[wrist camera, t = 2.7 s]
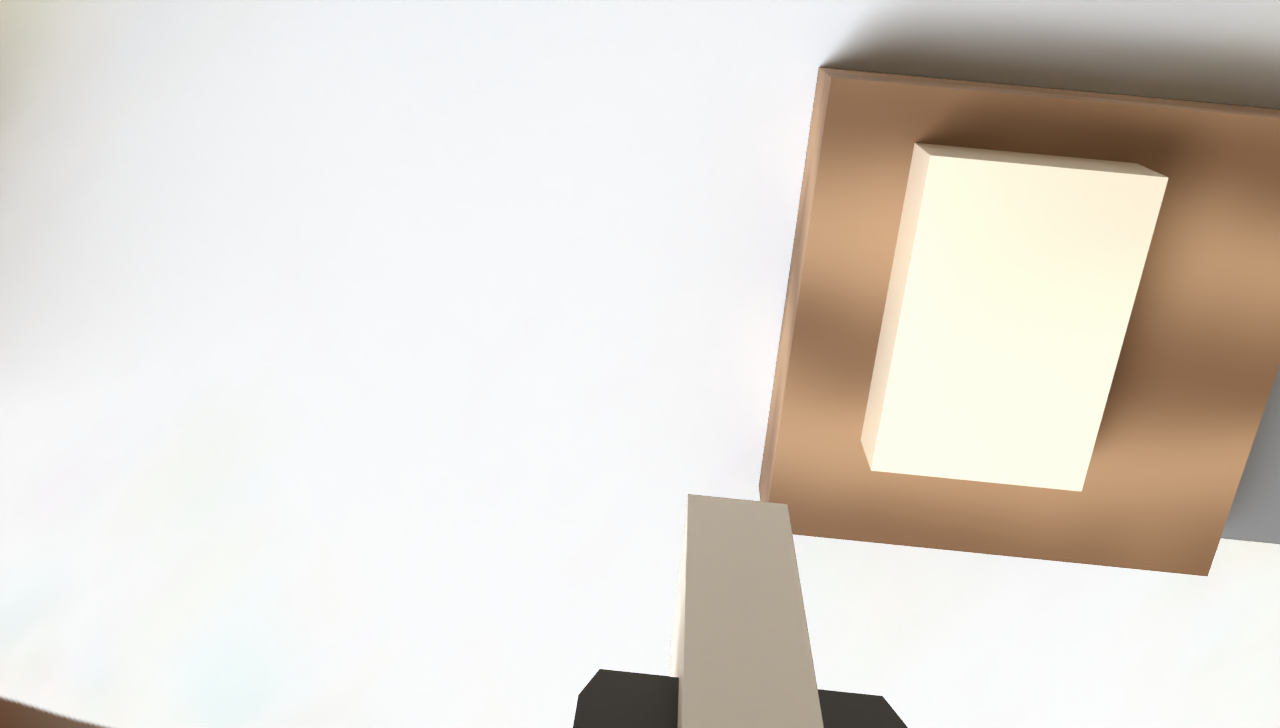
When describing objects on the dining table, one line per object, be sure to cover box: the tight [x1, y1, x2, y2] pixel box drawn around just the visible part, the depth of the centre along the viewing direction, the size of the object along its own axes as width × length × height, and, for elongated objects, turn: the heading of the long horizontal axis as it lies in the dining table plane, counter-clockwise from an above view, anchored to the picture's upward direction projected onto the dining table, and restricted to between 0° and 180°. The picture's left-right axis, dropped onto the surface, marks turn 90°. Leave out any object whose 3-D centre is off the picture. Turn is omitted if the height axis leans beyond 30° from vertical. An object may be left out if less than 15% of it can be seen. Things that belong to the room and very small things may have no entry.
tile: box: [861, 143, 1169, 492], centre depth 28 cm, size 9×6×2 cm, turn 175°
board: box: [759, 67, 1280, 576], centre depth 31 cm, size 14×14×3 cm
